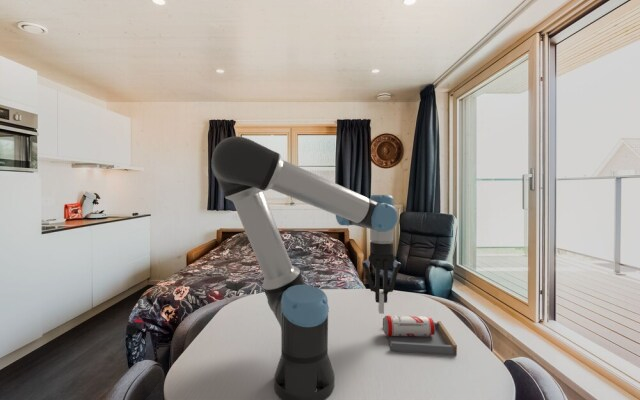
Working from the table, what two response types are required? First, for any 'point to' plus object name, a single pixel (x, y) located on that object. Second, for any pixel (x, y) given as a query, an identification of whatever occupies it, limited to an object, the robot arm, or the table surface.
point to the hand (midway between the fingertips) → (381, 311)
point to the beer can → (408, 326)
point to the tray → (426, 342)
